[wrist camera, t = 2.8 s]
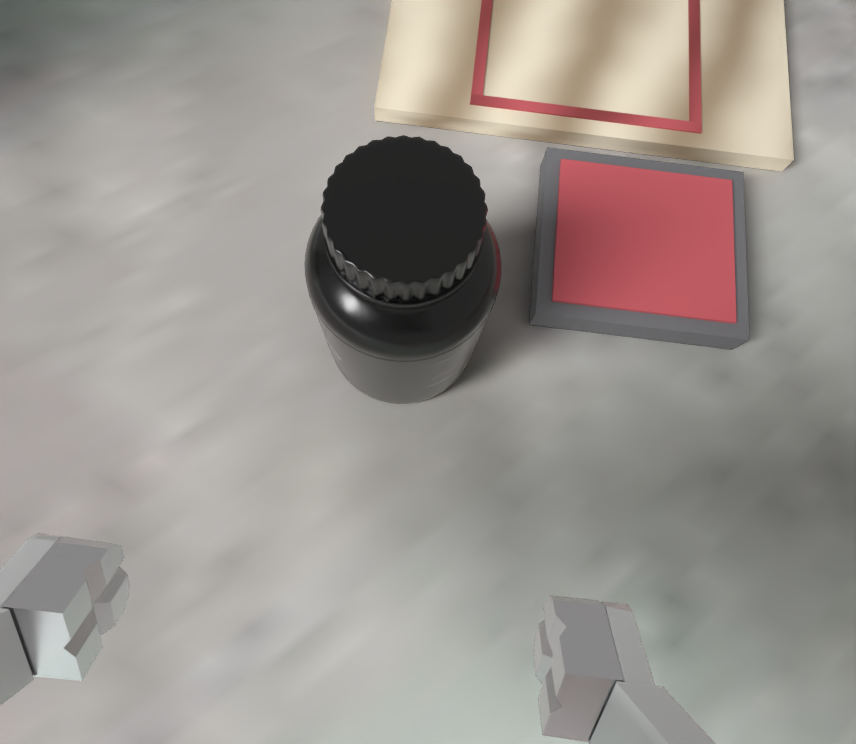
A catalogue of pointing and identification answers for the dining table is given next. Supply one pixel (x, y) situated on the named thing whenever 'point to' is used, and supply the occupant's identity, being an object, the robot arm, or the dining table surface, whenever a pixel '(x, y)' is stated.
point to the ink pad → (640, 250)
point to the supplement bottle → (402, 267)
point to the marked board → (597, 74)
